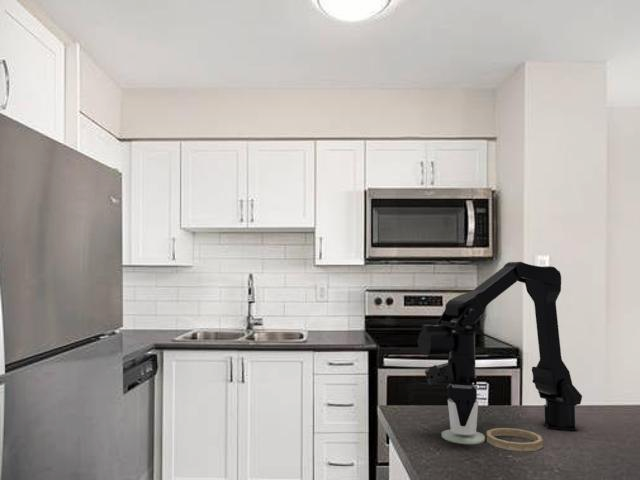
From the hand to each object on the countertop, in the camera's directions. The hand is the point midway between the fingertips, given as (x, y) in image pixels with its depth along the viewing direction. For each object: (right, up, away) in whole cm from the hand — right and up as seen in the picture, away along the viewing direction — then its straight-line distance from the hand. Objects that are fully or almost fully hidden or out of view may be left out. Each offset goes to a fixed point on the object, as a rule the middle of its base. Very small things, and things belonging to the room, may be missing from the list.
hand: (463, 422), depth 120 cm
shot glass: (0, -2, 0) cm, 2 cm away
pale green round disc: (0, -4, 0) cm, 4 cm away
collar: (+10, -3, -3) cm, 11 cm away
